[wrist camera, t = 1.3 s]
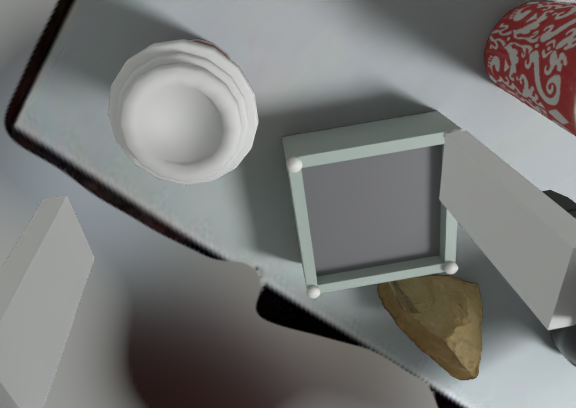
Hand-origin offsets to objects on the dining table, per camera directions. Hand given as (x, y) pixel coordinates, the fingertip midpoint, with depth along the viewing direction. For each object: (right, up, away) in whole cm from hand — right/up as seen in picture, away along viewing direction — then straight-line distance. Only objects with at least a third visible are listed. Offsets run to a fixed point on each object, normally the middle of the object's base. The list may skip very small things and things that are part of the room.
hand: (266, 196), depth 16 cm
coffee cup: (-7, +10, +21) cm, 24 cm away
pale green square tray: (+8, +1, +27) cm, 28 cm away
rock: (+16, -9, +34) cm, 38 cm away
